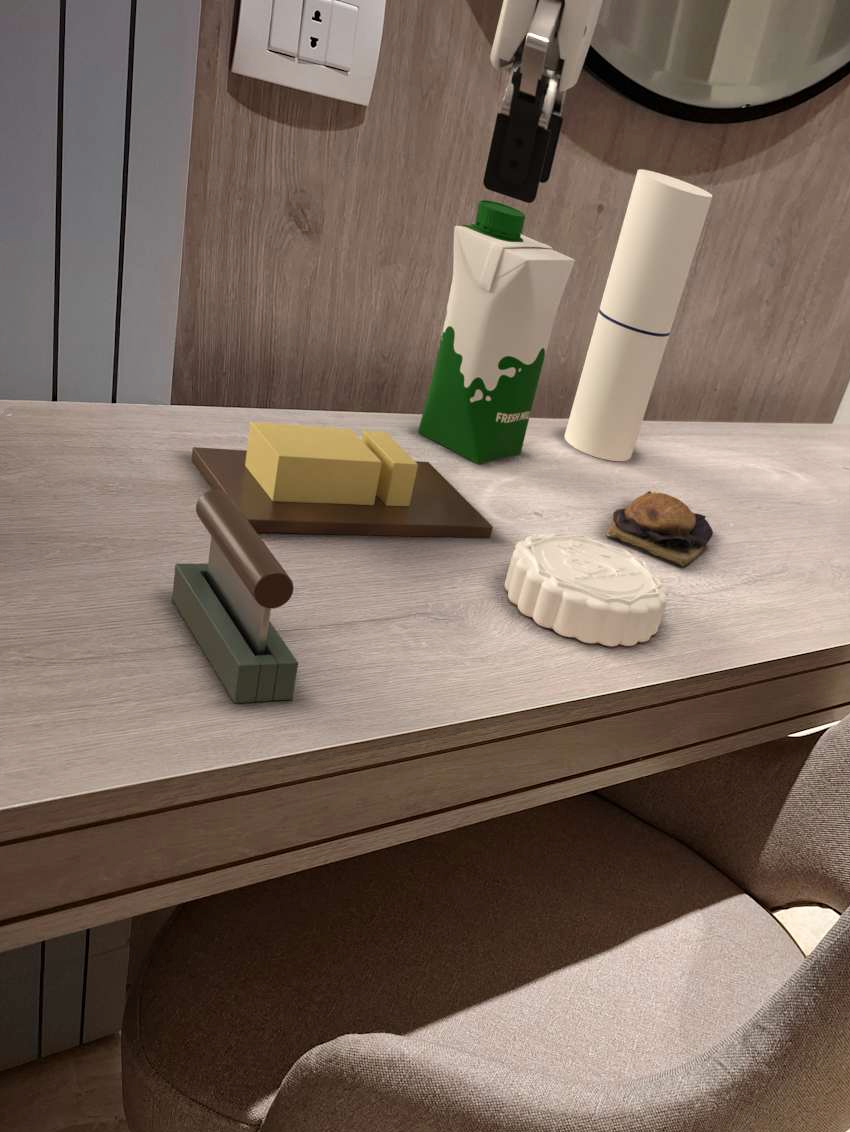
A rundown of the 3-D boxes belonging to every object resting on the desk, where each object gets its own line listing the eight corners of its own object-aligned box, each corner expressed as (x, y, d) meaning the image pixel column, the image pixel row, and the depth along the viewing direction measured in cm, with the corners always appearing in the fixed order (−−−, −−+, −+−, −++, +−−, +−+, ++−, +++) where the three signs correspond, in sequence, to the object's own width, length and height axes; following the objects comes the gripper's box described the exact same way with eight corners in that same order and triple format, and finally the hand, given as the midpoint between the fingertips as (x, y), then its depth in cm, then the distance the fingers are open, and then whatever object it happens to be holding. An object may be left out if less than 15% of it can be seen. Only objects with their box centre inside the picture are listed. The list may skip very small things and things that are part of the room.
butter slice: (386, 505, 91) (394, 462, 89) (355, 472, 95) (362, 429, 93) (409, 506, 92) (418, 464, 90) (378, 473, 96) (386, 431, 94)
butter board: (244, 532, 83) (245, 519, 82) (191, 459, 90) (192, 446, 89) (490, 537, 94) (493, 526, 94) (426, 472, 102) (428, 461, 101)
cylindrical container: (555, 441, 118) (628, 170, 105) (576, 426, 124) (649, 168, 111) (620, 467, 118) (703, 198, 104) (639, 450, 124) (719, 194, 110)
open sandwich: (686, 573, 101) (701, 533, 99) (597, 534, 102) (610, 495, 100) (716, 538, 110) (730, 501, 107) (634, 503, 110) (646, 466, 108)
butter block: (272, 501, 86) (278, 455, 84) (244, 465, 89) (250, 421, 87) (374, 505, 90) (382, 462, 88) (343, 471, 94) (350, 428, 92)
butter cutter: (240, 695, 67) (256, 572, 62) (185, 605, 73) (197, 488, 68) (278, 693, 68) (296, 572, 64) (221, 605, 74) (235, 490, 70)
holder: (234, 703, 66) (239, 665, 64) (171, 599, 73) (175, 562, 71) (293, 700, 68) (299, 662, 66) (226, 598, 75) (230, 563, 73)
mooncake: (590, 563, 96) (603, 523, 94) (688, 639, 90) (703, 597, 88) (472, 573, 88) (483, 529, 86) (570, 656, 82) (584, 611, 80)
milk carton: (460, 419, 115) (509, 200, 104) (534, 457, 113) (593, 236, 102) (403, 429, 108) (449, 196, 97) (481, 470, 106) (537, 235, 95)
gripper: (539, -154, 72) (477, 152, 82) (508, -193, 58) (437, 183, 67) (656, -110, 73) (581, 187, 83) (654, -138, 59) (564, 225, 68)
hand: (516, 185), depth 75 cm, fingers open, 9 cm apart
